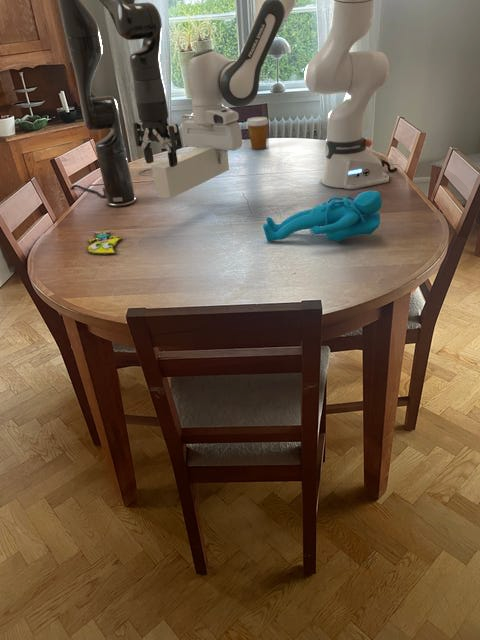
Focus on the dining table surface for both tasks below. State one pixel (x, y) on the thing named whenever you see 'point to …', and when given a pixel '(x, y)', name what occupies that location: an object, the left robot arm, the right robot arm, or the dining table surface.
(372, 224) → the toy
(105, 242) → the toy
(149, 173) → the musical instrument
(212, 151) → the bar
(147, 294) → the dining table surface
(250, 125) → the disposable coffee cup
